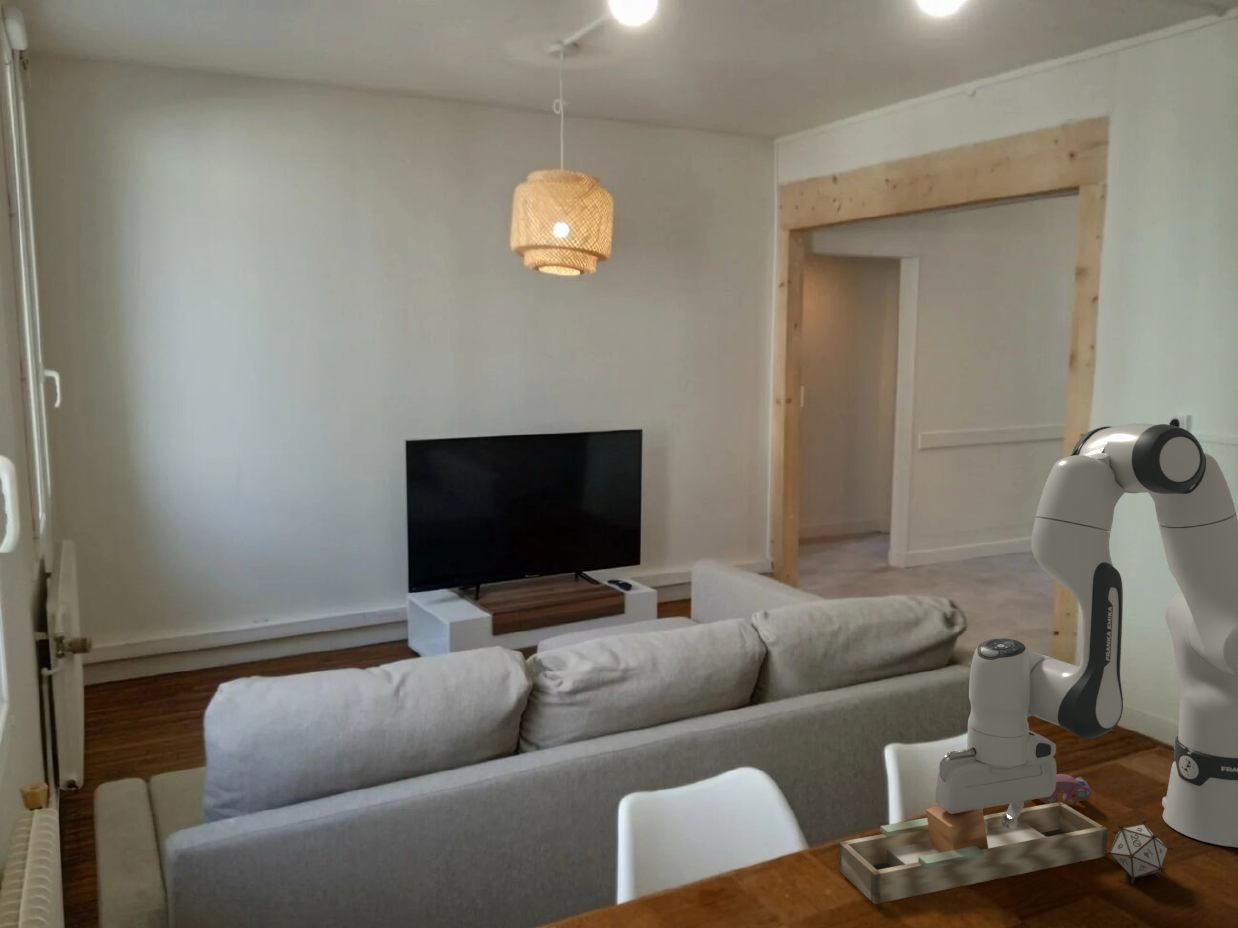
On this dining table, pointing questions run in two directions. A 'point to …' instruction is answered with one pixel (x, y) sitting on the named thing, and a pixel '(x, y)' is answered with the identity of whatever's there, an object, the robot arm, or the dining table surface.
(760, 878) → the dining table surface
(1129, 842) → the game die
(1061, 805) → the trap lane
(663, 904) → the dining table surface
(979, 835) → the block
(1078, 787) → the video game controller
